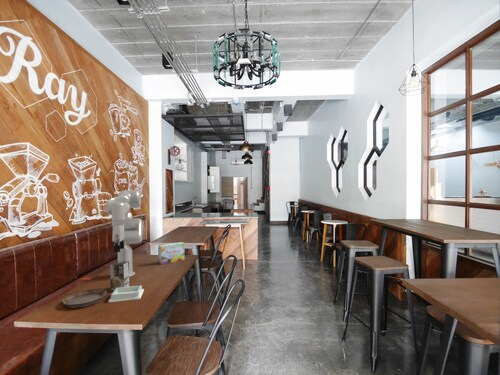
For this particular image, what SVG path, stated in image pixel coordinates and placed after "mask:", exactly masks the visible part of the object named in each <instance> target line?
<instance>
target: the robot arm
mask: <svg viewBox="0 0 500 375" xmlns="http://www.w3.org/2000/svg"><path fill="white" fill-rule="evenodd" d="M141 198H142V197H141V194H140V192H139V191H138V190H136V189H131V190H130V189H128V190H125V189H124V190H121V191H120V192H118V194H117V196H115V197H112V198H109V199H108V200H107V201H106V204H105V206H104V211H105V213H106V214H107V215H111V226H112V237H111V238H112V242H113V252H114V253H117V262H124V261H129V278H131V277H132V276H135V275H136V272H135V271H133V270H134V269H133V266H134V265H133V249H132V247H131V246H130V245H134V244H135V245H137V244H141V243H142V241H143V238H144V237H143V232H144V229H143V226H144V225H143V220H142V219H141V218H139V217H135V218H134V217H133V213H132V212H131V210H130V209H134V208H135V209H137V208H140V207H141V206H142V199H141Z"/></svg>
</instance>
